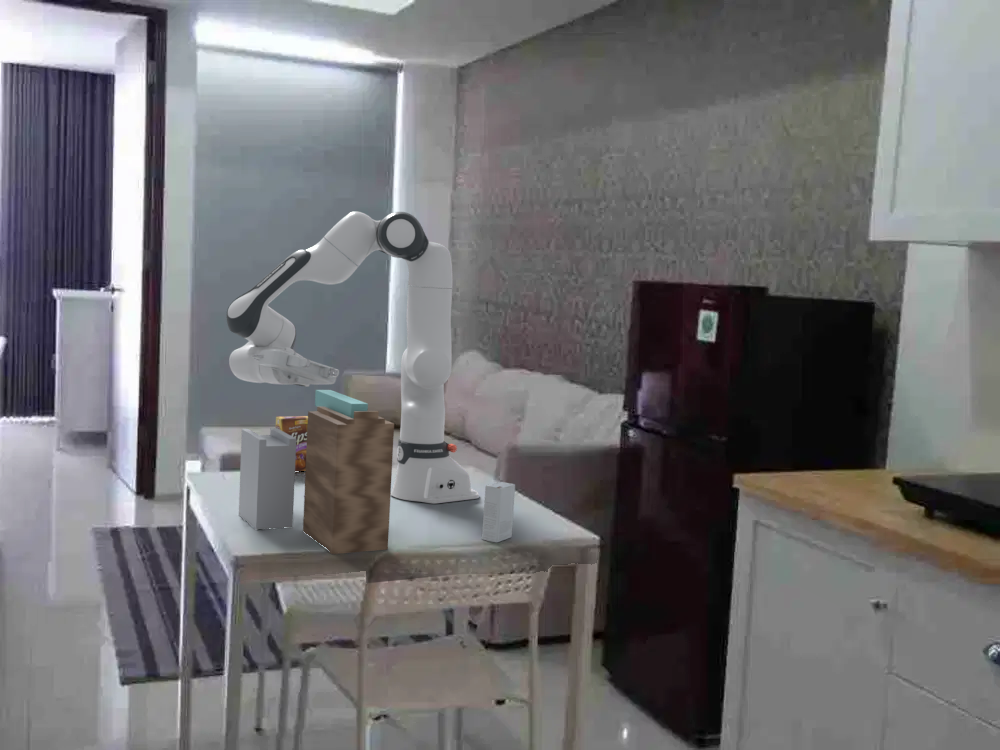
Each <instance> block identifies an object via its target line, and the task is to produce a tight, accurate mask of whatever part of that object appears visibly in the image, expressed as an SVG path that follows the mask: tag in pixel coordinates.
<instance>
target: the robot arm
mask: <svg viewBox="0 0 1000 750" xmlns="http://www.w3.org/2000/svg"><path fill="white" fill-rule="evenodd" d="M375 251H379V252H381V253H384V254H386V255H387V256H389V257H392V258H397V259H403V260H404V261H405V262H406V264H407V268H408V281H407V282H408V285H407V298H406V299H407V303H406V304H407V305H406V331H407V332H406V337H407V339H406V340H407V341H406V342H407V344H406V345H407V347H406V348H405V350H404V351H403V353H402V355H401V361H400V362H401V365H400V394H401V395H400V398H401V400H400V401H401V402H400V403H401V404H400V405H401V408H400V409H401V410H400V411H401V412H400V413H401V414H400V415H401V416H400V428H399V429H400V430H399V431H400V434H399V435H400V436H399V439H398V442H397V450H396V453H397V454H396V456H397V458H396V460H397V467H396V473H395V477H394V481H393V482H394V483H393V486H392V487H391V496H392V497H394V498H396V499H400V500H405V501H410V502H411V501H412V502H422V503H426V504H442V503H450V502H458V501H464V500H466V501H467V500H474V499H479V497H480V494H479V492H478V491H477V490H475V488H472V487H471V478H470V474H469V472H468V471H467V470H466V468H464V467H463V466H462V465H460V463H458V461H456V460H455V459H453V458H452V457H451V456H450V452H451V453H454V454H455V453H456V452H457V451H458V448H457V447H458V446H457V445H456V444H454V443H448V442H446V441H444V439H445V421H446V406H445V385H444V384H446V383H447V382H448V380H449V378H450V376H451V373H452V368H453V367H452V365H453V364H452V363H453V361H452V357H453V356H452V354H453V352H452V351H453V346H452V323H451V322H452V321H451V319H452V301H453V299H452V298H453V283H454V280H453V276H454V275H453V274H454V273H453V262H452V254H451V251H450V250H449V248H448V247H446V246H445V245H444V244H442V243H438V242H433V241H429V239H428V237H427V235H426V232H425V231H424V227H422V225H421V223H420V221H419V220H418V219H417V217H415V216H414V215H412V214H410V213H408V212H405V211H395V212H392V213H389V214H388V215H386V216H385V217H384V218H382V219H380V220H375V219H373V218H372V217H371V216H370V215H368V214H366V213H364V212H362V211H357V210H355V211H351V212H349V213H348V214H346V215H345V216H344V217H342V218H341V219H340V220H339V221H338V222H337V223H336V224H335V225H333V227H332V228H331V229H329V230H328V231H327V232H326V234H325V235H324V236H323V237H322V238H321V239H320V241H318V242H317V243H316V244H314V245H313V246H311V247H309V248H307V249H299V250H296V251H294V252H293V253H292V254H290V255H289V256H287V257H286V258H285V259H284V260H282V261H281V262H280V263H278V265H277V266H276V267H274V268H273V269H272V270H271V271H270V272H268V273H267V274H266V275H264V277H263V278H262V279H261V280H259V281H258V282H257V283H256V284H255V285H254V286H252V288H250V289H249V290H247V291H246V292H243V294H241V295H239V296H237V297H236V298H235V299H234V300H233V301H232V302H231V303H230V304H229V305H228V307H227V309H226V323H227V324H226V325H227V327H228V329H229V331H230V332H231V333H232V334H235V335H237V336H239V337H241V338H244V339H245V340H247V342H246V343H245V344H244V345H242V346H241V347H239V348H237V349H234V350H232V351H231V353H230V355H229V360H228V363H229V368H230V371H231V372H232V374H233V375H234V376H235V377H236V378H237V379H239V380H240V381H245V382H250V383H257V384H263V383H267V384H272V385H285V386H286V385H288V386H289V385H292V386H299V387H306V388H307V387H310V385H315V386H316V385H318V386H319V385H333V384H335V383H336V381H337V378H338V377H339V376H340V370H339V369H337V368H335V367H332V366H328V365H326V364H323V363H320V362H316V361H313V360H312V359H311V360H310V359H309V358H307V357H304V356H303V355H301V354H300V353H297V352H296V351H295V350H294V347H295V343H296V341H297V339H296V338H297V330H296V326H295V324H294V323H293V322H292V321H290V320H289V319H287V317H285V316H283V315H282V314H280V313H279V312H277V311H276V310H275V309H273V308H271V307H270V306H269V305H270V303H271V302H273V301H274V300H275V299H276V298H277V297H278V296H279V295H281V293H283V292H285V290H286V289H288V288H289V286H291V285H292V284H294V283H297V282H300V281H311V282H314V283H318V284H323V285H337V284H342V283H344V282H346V281H347V280H349V278H350V277H351V276H352V275H353V274H354V273H355V272H356V270H357V269H358V268H359V267H360V266H361V264H362V263H363V262H364V261H365V260H366V258H367V257H368V256H369V255H371V254H373V252H375Z"/></svg>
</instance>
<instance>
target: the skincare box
mask: <svg viewBox="0 0 1000 750" xmlns="http://www.w3.org/2000/svg"><path fill="white" fill-rule="evenodd" d="M515 492H516V484H515V483H510V482H504V481H498V482H494V483H491V484H487V485H485V491H484V500H483V502H484V503H483V504H484V505H483V515H482V516H483V517H482V529H481V530H482V531H481V532H482V533H481V539H482V540H484V541H487V542H490V543H500V542H503V541H505V540H509V539H510V538H512V535H513V522H514V521H513V520H514V508H515V506H514V505H515V494H516V493H515Z"/></svg>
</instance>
